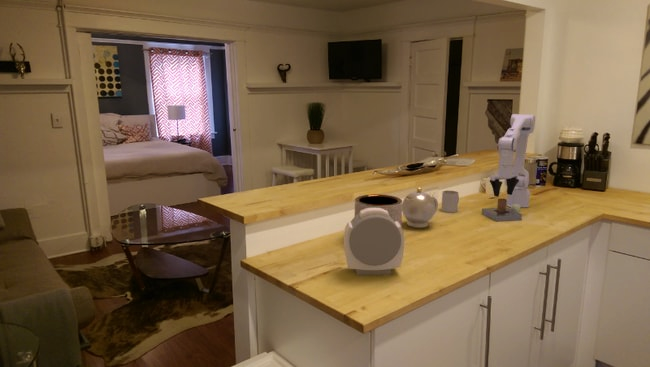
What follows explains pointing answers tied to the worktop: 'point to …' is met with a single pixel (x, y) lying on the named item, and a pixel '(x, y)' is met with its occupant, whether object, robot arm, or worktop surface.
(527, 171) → the robot arm
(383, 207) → the planter
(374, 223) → the alarm clock
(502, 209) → the walnut dowel
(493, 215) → the collar plate
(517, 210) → the pale cream cylinder
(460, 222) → the worktop surface
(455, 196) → the cup
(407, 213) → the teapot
